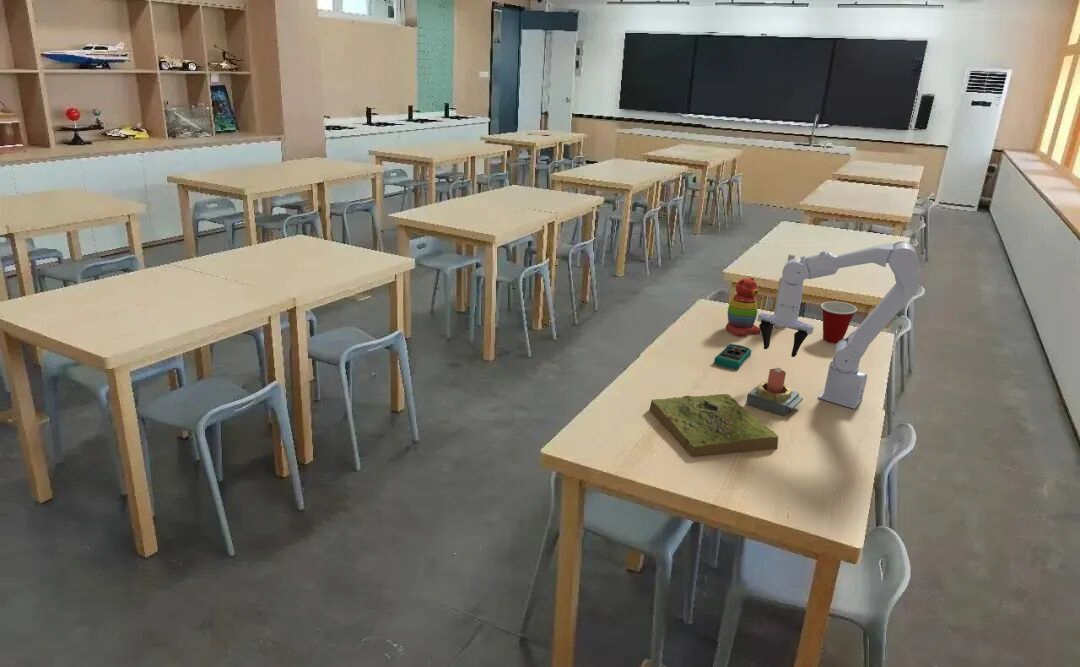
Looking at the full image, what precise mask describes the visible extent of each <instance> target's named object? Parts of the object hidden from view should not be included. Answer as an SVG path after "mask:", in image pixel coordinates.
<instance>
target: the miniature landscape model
mask: <svg viewBox="0 0 1080 667" xmlns="http://www.w3.org/2000/svg"><path fill="white" fill-rule="evenodd" d="M649 405H650V406H649V409H648V410H649V411H650V413H651V414H652V415H653V416H654V417H655V418H656V419H657V420H658V421H659V422H660V424H661V425H662V426H663V427H664V428H665V429H666V430H667V432H668V433H669V434H671V435H672V437H673V438H674V439H675V440H676V441H677V442H678V443H679V445H680V446H682V448H683V449H684V450H685V451H686V452H687V453H688V455H689V456H690V457H691V458H701V457H711V456H718V455H719V456H720V455H729V454H738V453H740V454H741V453H748V452H757V451H760V452H761V451H765V450H767V451H768V450H775V449H777V450H778V447H779V446H778V444H779V436H778V434H777V433H776V432H775V431H774V430H772V429H770V428H769V427H768V426H766V425H765V424H764V423H763V422H762V421H761V420H759V419H758V418H757V417H756V416H755V415H754V414H751V413H750V411H748V410H746V409H745V408H744V407H743V405H740V404H739V403H738V402H737V400H736V399H735V398H733V397H732V396H731V395H730V394H728V393H722V394H720V393H719V394H718V393H717V394H713V395H712V394H708V395H696V396H695V395H692V396H691V395H684V396H681V397H676V396H674V397H669V398H668V397H667V398H658V399H653V398H652V399H651V401H650V404H649Z"/></svg>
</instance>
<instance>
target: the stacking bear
mask: <svg viewBox="0 0 1080 667" xmlns="http://www.w3.org/2000/svg"><path fill="white" fill-rule="evenodd" d="M759 290H760V289H759V286H758V284H757V283H756V280H755V279H754V278H753V277H749V278H741V279H739V280H738V281H737V283H736V285H735V291H736V294H733V295H734V296H733V297H732V298H731V299H730V303H729V305H728V308H727V323H726V325H725V329H726V331H727V332H728V333H730V334H731V335H733V336H736V337H739V336H740V337H741V338H744V337H746V336H747V334H748V335H760V334H762V333H761V330H760V328H759V326H757V325H755V322H756V321H757V317H758V302H757V298H756V296H757V295H758V293H759ZM743 336H744V337H743Z"/></svg>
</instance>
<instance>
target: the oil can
mask: <svg viewBox="0 0 1080 667" xmlns="http://www.w3.org/2000/svg"><path fill="white" fill-rule="evenodd" d="M786 375H787V372H786V371H784V370H782V368H780V367H774V368H771V369H769V372H768V378H767V381H766V382H767V388H766V391H770V392H773V393H782V391H783V386H784V385H785V380H786V379H785V378H786Z"/></svg>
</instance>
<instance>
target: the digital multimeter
mask: <svg viewBox="0 0 1080 667" xmlns="http://www.w3.org/2000/svg"><path fill="white" fill-rule="evenodd" d="M751 354H752V349H750V348H749V347H746V346H743V345H740V344H734V343H729V344H727V345H726V346H725V347H724V348H723V350H722V351H721V352H720V353H718V354H717V355H716V356H715V357H714V361H713V364H714V365H716V366H720V367H723V368H727V369H731V370H737V371H738V370H739V369H740V368H741V367H742V365H743V364H744V363H745V361H746V360H747V359H748V358H749V357H750V356H751Z"/></svg>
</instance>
